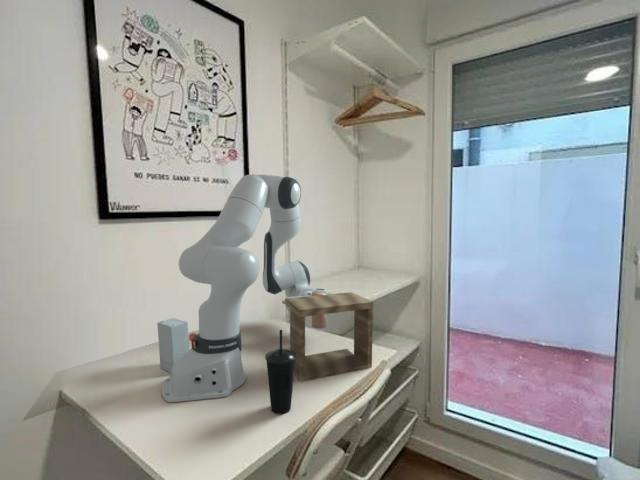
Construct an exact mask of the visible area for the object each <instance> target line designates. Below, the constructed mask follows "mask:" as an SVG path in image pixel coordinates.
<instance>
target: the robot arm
mask: <svg viewBox="0 0 640 480" xmlns="http://www.w3.org/2000/svg"><path fill="white" fill-rule="evenodd" d="M301 188H302V187H301V185H300V183H299V182H298V181H297V179H295V178H293V177H289V176H280V175H274V174H273V175H272V174H246V175H244V176H242V177H240V179H239V180H238V182H237V183H236V184H235V186H234V187H233V189H232V191H231V192H230V194H229V196H228V198H227V199H226V202H225V203H224V205H223V208H222V210H221V212H220V214H219V216H218V218H217V219H216V221H215V222H214V223H213V225H212V227H210V229H208V231H207V232H206V233H205V234H204V235H203V236H202V237H201V238H200V239H199V240H198V241H196V243H194V244H192V245H191V246H189V247H187V248H186V249H184V250H183V251H182V253H181V254H180V256H179V259H178V268H179V271H180V274H181V275H182V276H184V277H185V278H187V279H189V280H190V281H192V282H195V283H199V284H206V285H210V287H211V288H210V293H209V297H208V298H207V299H206V300H205V301H203V302H202V303H201V305H200V306H199V308H198V333H197V334H196V333H194V332H191V333H189V334H188V337H189V342H191V343H190V345H191V349H190V348H189V351H188V352H187V353H185V354H184V355H183V356H182V357H181V358H179V359H178V360H177V361H176V362H175V363H174V365H173V368H172V371H171V373H170V375H169V376H168V377H166V378H165V379H164V381H163V382H162V384H161V385H162V386H161V396H162V397H161V398H162V399H163V400H165V401H166V403H178V402H188V401H197V400H199V401H200V400H208V399H217V398H219V399H220V398H227V397H228V396H230V395H231V393H232V392H233V391H234V390H236V389H238V388H239V387H241V386H242V385H243V384H244V383H245V382H246V379H247V376H246V374H245V371H244V370H245V369H244V366H243V360H242V344H243V342H242V341H243V340H242V339H243V337H242V332H241V329H240V316H241V315H240V314H241V310H240V309H241V304H242V300H243V297H244V294H245V293H246V292H247V289H249V287H251V286H252V285H253V284H254V283H255V282H256V280H257V279H258V276H259V275H260V267H261V266H260V261H259V259H258V256H257V254H255V253H254V252H253V251H252V252H251V251H249V250H246V249H244V248H241V247H240V246H241V245H243V244H244V243H246V242H248V241H249V240H250V239H251V238H252V237H253V235H254V233H255V232H256V230H257V226H258V224H259V223H260V220H261V217H262V214H263V212H264V209H265V208H266V209H269V213H270V214H269V215H270V226H269V229H268V231H267V232H266V233H265V234H264V239H263V272H262V285H263V287H264V289H265V291H266V292H267V293H269V294H271V295H277V294H279V293H281V292H283V291H284V292H285V293H284V294H285V296H286V298H296V297H306V296H312V292H318V291H320V292H326V293H327V294H334V293H332V292H330V291H329V290H328V289H326V288H314V287H310V284H311V274H310V271H309V269H308V267H307V266H306V265H305V264H304V263H303V262H302V261H299V260H294V261H292V262H289V263H286V264H283V265H279V266H277V253H278V251H279V250H280V249H281V247H283V246H284V244H286V243H287V242H289V241H291V240H292V239H294V238H295V237H296V236H297V235H298V234H299V231H300V230H301V228H302V227H301V226H302V217H301V210H300V201H301V197H302V189H301ZM276 266H277V267H276ZM281 302H282V304H283V305H285V299H284V300H282V301H281ZM285 308H286V310H287V311H289V312H290V308H289V307H287V306H286V305H285Z"/></svg>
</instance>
